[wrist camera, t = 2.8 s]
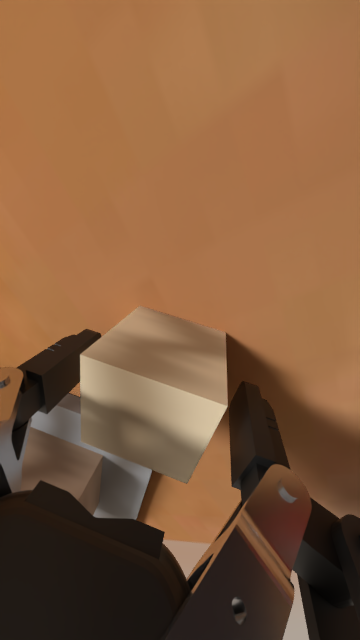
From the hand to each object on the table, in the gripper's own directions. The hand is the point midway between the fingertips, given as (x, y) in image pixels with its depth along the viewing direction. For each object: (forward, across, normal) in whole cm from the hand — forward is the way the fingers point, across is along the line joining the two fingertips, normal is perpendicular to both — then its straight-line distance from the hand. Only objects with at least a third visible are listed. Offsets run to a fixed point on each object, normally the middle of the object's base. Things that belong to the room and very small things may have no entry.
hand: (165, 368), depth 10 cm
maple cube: (+2, 0, 0) cm, 2 cm away
